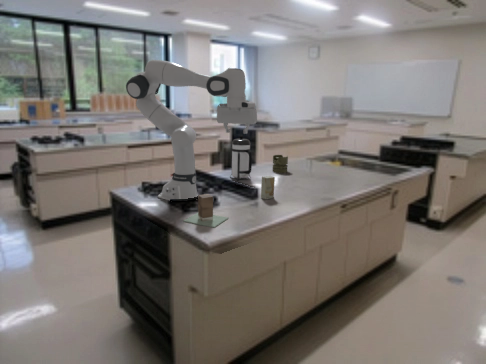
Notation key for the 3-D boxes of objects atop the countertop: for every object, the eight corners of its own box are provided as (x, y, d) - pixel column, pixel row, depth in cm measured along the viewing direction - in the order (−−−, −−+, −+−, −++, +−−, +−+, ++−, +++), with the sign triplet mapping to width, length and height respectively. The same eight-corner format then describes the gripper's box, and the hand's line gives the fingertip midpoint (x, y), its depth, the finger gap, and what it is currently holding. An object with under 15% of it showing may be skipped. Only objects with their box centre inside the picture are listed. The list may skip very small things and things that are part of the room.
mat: (183, 221, 153) (183, 220, 153) (198, 213, 165) (198, 212, 165) (214, 227, 147) (214, 226, 147) (228, 218, 159) (228, 217, 158)
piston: (280, 157, 253) (270, 155, 261) (279, 173, 256) (269, 171, 264) (291, 156, 260) (280, 154, 268) (290, 171, 262) (279, 169, 271)
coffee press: (226, 180, 232) (226, 135, 224) (233, 175, 246) (234, 133, 239) (250, 182, 227) (252, 137, 219) (257, 177, 241) (258, 134, 234)
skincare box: (265, 199, 189) (266, 178, 186) (260, 197, 193) (261, 176, 190) (274, 197, 193) (275, 176, 190) (269, 196, 196) (270, 175, 193)
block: (208, 193, 156) (208, 216, 159) (198, 195, 154) (198, 218, 157) (212, 196, 152) (212, 220, 155) (202, 198, 150) (202, 221, 152)
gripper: (213, 103, 163) (214, 132, 167) (253, 104, 155) (253, 134, 158) (220, 103, 169) (220, 131, 172) (258, 103, 160) (258, 133, 164)
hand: (236, 133), depth 165 cm, fingers open, 8 cm apart
